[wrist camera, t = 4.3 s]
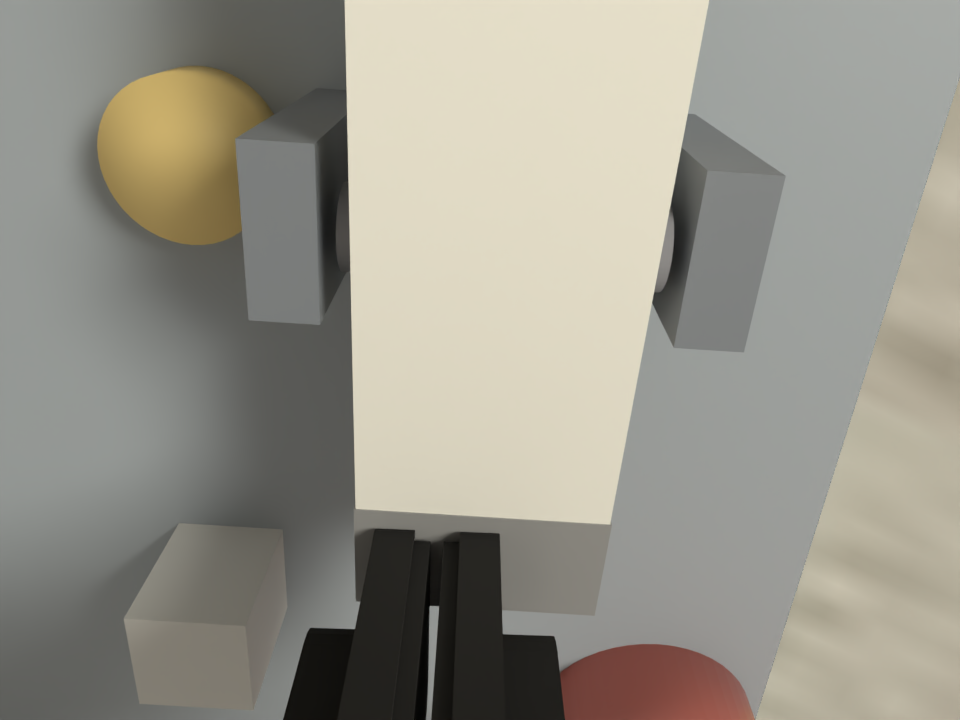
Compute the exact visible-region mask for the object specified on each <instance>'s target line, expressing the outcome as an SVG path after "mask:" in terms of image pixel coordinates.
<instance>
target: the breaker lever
mask: <svg viewBox="0 0 960 720" xmlns="http://www.w3.org/2000/svg"><path fill="white" fill-rule="evenodd" d="M708 5H709V0H345V40H346V87H347V134H348V181H349V182H344V183H343V185H342V187H341V191H340V195H339V200H338V208H337V219H336V251H337V260H338V265H339V269H340V270H341V271H342V272H350V274H351V321H352V368H353V415H354V461H355V506H354V547H355V590H356V601H358V602H360V601H361V596H362V590H363V585H364V580H365V575H366V570H367V565H368V560H369V555H370V550H371V545H372V540H373V535H374V531H375V529H400V530H415V539H414V541H430V542H431V554H430V606H439V601H440V587H441V573H442V559H443V545H444V542H460V532H477V533H499V534H500V557H501V591H502V610H507V611H523V612H540V613H556V614H573V615H589V616H595V611H596V606H597V601H598V596H599V590H600V585H601V580H602V575H603V570H604V564H605V559H606V554H607V549H608V543H609V538H610V533H611V528H612V524H611V517H612V512H613V506H614V501H615V496H616V491H617V485H618V480H619V475H620V469H621V464H622V459H623V454H624V448H625V443H626V438H627V432H628V427H629V422H630V417H631V411H632V406H633V401H634V396H635V390H636V385H637V380H638V374H639V369H640V364H641V359H642V353H643V348H644V343H645V337H646V332H647V327H648V322H649V316H650V311H651V306H652V300H653V295H654V292H661V291H662V290H663V288H664V286H665V284H666V281H667V278H668V275H669V271H670V267H671V262H672V255H673V246H674V217H673V211H672V208H671V206H670V205H671V200H672V195H673V189H674V184H675V179H676V174H677V168H678V163H679V158H680V153H681V147H682V142H683V137H684V131H685V126H686V121H687V116H688V110H689V105H690V100H691V94H692V89H693V84H694V79H695V73H696V68H697V63H698V57H699V52H700V47H701V42H702V36H703V31H704V26H705V20H706V15H707V10H708Z"/></svg>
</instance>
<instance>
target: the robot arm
mask: <svg viewBox="0 0 960 720" xmlns="http://www.w3.org/2000/svg"><path fill="white" fill-rule="evenodd" d="M414 539H415V530H400V529H375V531H374V535H373V540H372V545H371V550H370V555H369V560H368V565H367V570H366V575H365V580H364V585H363V590H362V596H361V601H360V606H359V611H358V616H357V621H356V626H355V629H334V628H310V629H309V631H308V632H307V634H306V637H305V640H304V644H303V647H302V651H301V655H300V658H299V662H298V666H297V670H296V673H295V677H294V681H293V684H292V688H291V692H290V696H289V699H288V703H287V707H286V710H285V714H284V718H283V720H426V714H427V699H428V670H429V615H430V554H431V542H430V541H414ZM431 720H565V715H564V706H563V697H562V688H561V679H560V670H559V660H558V651H557V645H556V640H555V637H554V636H542V635H513V634H503V625H502V591H501V557H500V534H499V533H477V532H460V542H444V545H443V559H442V573H441V587H440V601H439V616H438V630H437V644H436V658H435V673H434V687H433V701H432V715H431Z"/></svg>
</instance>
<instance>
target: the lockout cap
mask: <svg viewBox="0 0 960 720" xmlns="http://www.w3.org/2000/svg"><path fill="white" fill-rule="evenodd" d="M560 679H561V688H562V697H563V706H564V715H565V720H755V718H754V715H753V712H752V710H751V707H750V704H749V701H748V698H747V696H746V693H745V690H744V689H743V687H742V685H741V684H740V682H739V681H738V680H737V679H736V677H735V676H734V675H733V674H732V673H731V672H730V671H729V670H728V669H726V668H725V667H724V666H723V665H721V664H720V663H718V662H716V661H715V660H713V659H712V658H709V657H707V656H705V655H703V654H701V653H698V652H695V651H692V650H689V649H685V648H681V647H676V646H670V645H661V644H637V645H626V646H621V647H615V648H611V649H607V650H604V651H600V652H597V653H595V654H592V655H590V656H587V657H585V658H583V659H581V660H579V661H577V662H575V663H573V664H572V665H570V666H569V667H567V668H566V669H564V670H563V671H562V672H560Z"/></svg>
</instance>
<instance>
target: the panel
mask: <svg viewBox="0 0 960 720" xmlns="http://www.w3.org/2000/svg"><path fill="white" fill-rule="evenodd" d="M959 78H960V0H709V5H708V10H707V15H706V20H705V26H704V31H703V36H702V42H701V47H700V52H699V57H698V63H697V68H696V73H695V79H694V84H693V89H692V94H691V100H690V105H689V110H688V116H687V121H686V126H685V131H684V137H683V142H682V147H681V153H680V158H679V163H678V168H677V174H676V179H675V184H674V189H673V195H672V200H671V205H670V206H671V208H672V211H673V217H674V246H673V255H672V262H671V267H670V271H669V275H668V278H667V281H666V284H665V286H664V288H663V290H662V291H661V292H654V295H653V300H652V306H651V311H650V316H649V322H648V327H647V332H646V337H645V343H644V348H643V353H642V359H641V364H640V369H639V374H638V380H637V385H636V390H635V396H634V401H633V406H632V411H631V417H630V422H629V427H628V432H627V438H626V443H625V448H624V454H623V459H622V464H621V469H620V475H619V480H618V485H617V491H616V496H615V501H614V506H613V512H612V517H611V524H612V528H611V533H610V538H609V543H608V549H607V554H606V559H605V564H604V570H603V575H602V580H601V585H600V590H599V596H598V601H597V606H596V611H595V616H589V615H573V614H556V613H540V612H523V611H507V610H502V625H503V634H513V635H542V636H554V637H555V640H556V645H557V651H558V660H559V670H560V672H562V671H563V670H564V669H566V668H567V667H569V666H570V665H572V664H573V663H575V662H577V661H579V660H581V659H583V658H585V657H587V656H590V655H592V654H595V653H597V652H600V651H604V650H607V649H611V648H615V647H621V646H626V645H637V644H661V645H670V646H676V647H681V648H685V649H689V650H692V651H695V652H698V653H701V654H703V655H705V656H707V657H709V658H712V659H713V660H715V661H716V662H718V663H720V664H721V665H723V666H724V667H725V668H726V669H728V670H729V671H730V672H731V673H732V674H733V675H734V676H735V677H736V679H737V680H738V681H739V682H740V684H741V685H742V687H743V689H744V690H745V693H746V696H747V698H748V701H749V704H750V707H751V710H752V712H753V715H754V718H755V719H756V716H757V713H758V709H759V706H760V703H761V700H762V697H763V694H764V691H765V688H766V684H767V681H768V678H769V675H770V672H771V669H772V666H773V662H774V659H775V656H776V653H777V650H778V647H779V644H780V640H781V637H782V634H783V631H784V628H785V625H786V622H787V618H788V615H789V612H790V609H791V606H792V603H793V600H794V596H795V593H796V590H797V587H798V584H799V581H800V578H801V574H802V571H803V568H804V565H805V562H806V559H807V556H808V552H809V549H810V546H811V543H812V540H813V537H814V534H815V530H816V527H817V524H818V521H819V518H820V515H821V512H822V508H823V505H824V502H825V499H826V496H827V493H828V490H829V486H830V483H831V480H832V477H833V474H834V471H835V468H836V464H837V461H838V458H839V455H840V452H841V449H842V446H843V442H844V439H845V436H846V433H847V430H848V427H849V424H850V420H851V417H852V414H853V411H854V408H855V405H856V402H857V398H858V395H859V392H860V389H861V386H862V383H863V380H864V376H865V373H866V370H867V367H868V364H869V361H870V358H871V355H872V351H873V348H874V345H875V342H876V339H877V336H878V333H879V329H880V326H881V323H882V320H883V317H884V314H885V311H886V307H887V304H888V301H889V298H890V295H891V292H892V289H893V285H894V282H895V279H896V276H897V273H898V270H899V267H900V263H901V260H902V257H903V254H904V251H905V248H906V245H907V241H908V238H909V235H910V232H911V229H912V226H913V223H914V219H915V216H916V213H917V210H918V207H919V204H920V201H921V197H922V194H923V191H924V188H925V185H926V182H927V179H928V175H929V172H930V169H931V166H932V163H933V160H934V157H935V153H936V150H937V147H938V144H939V141H940V138H941V135H942V131H943V128H944V125H945V122H946V119H947V116H948V113H949V109H950V106H951V103H952V100H953V97H954V94H955V91H956V87H957V84H958V81H959ZM344 182H349V181H348V134H347V87H346V40H345V0H0V720H283V718H284V714H285V710H286V707H287V703H288V699H289V696H290V692H291V688H292V684H293V681H294V677H295V673H296V670H297V666H298V662H299V658H300V655H301V651H302V647H303V644H304V640H305V637H306V634H307V632H308V631H309V629H310V628H334V629H355V626H356V621H357V616H358V611H359V606H360V602H358V601H356V590H355V547H354V506H355V461H354V415H353V368H352V321H351V274H350V272H342V271H341V270H340V269H339V265H338V260H337V251H336V219H337V208H338V200H339V195H340V191H341V187H342V185H343V183H344ZM438 616H439V606H430V615H429V670H428V699H427V714H426V720H431V715H432V701H433V687H434V673H435V658H436V644H437V630H438Z"/></svg>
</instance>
